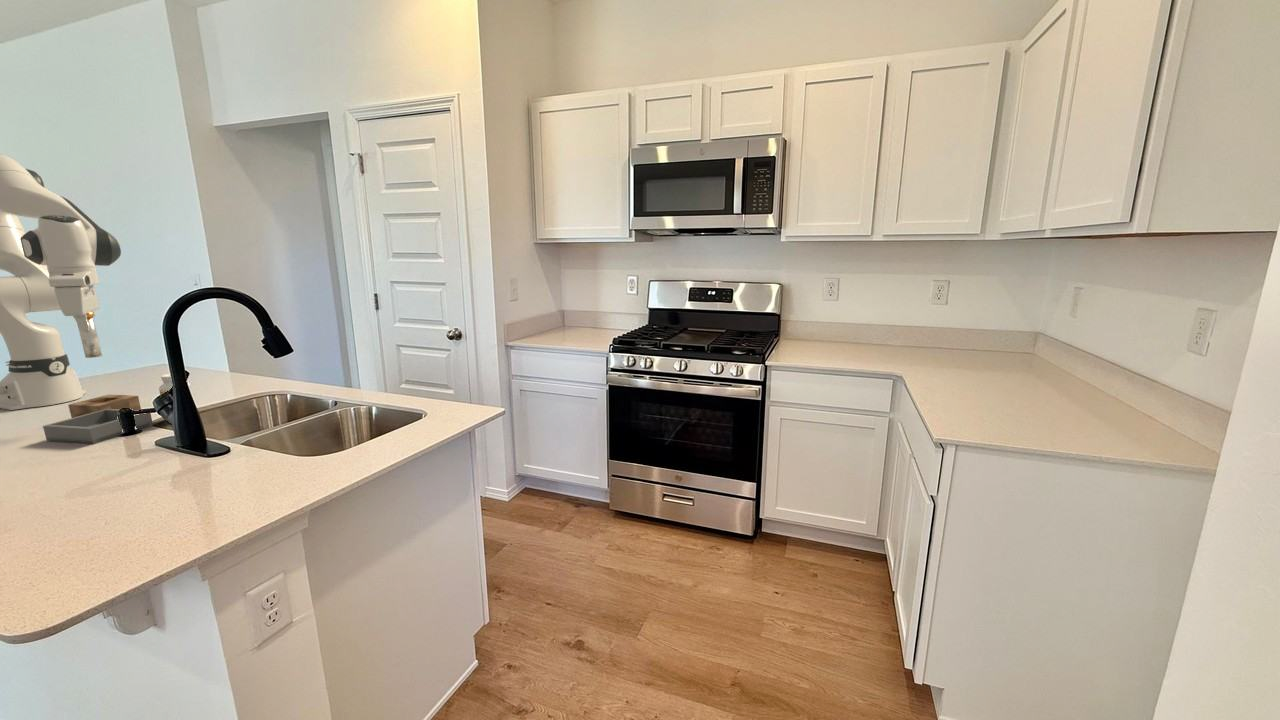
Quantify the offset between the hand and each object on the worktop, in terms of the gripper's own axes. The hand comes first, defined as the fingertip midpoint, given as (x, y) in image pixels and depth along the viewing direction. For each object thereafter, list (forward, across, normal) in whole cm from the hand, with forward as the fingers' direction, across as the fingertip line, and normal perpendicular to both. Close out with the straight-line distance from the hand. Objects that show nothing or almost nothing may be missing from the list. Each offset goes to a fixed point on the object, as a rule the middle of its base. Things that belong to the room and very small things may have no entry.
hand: (87, 329), depth 141 cm
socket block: (+26, -2, 0) cm, 26 cm away
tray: (+26, +15, +1) cm, 30 cm away
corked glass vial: (+8, 0, 0) cm, 8 cm away
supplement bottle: (+26, +12, +16) cm, 33 cm away
